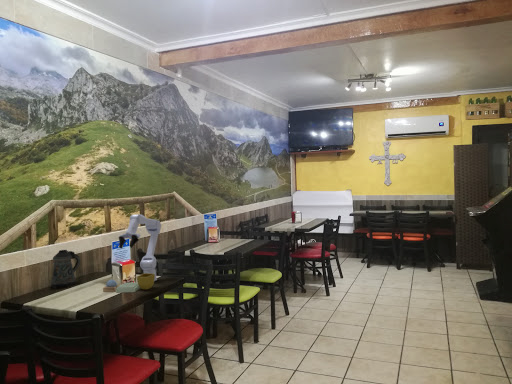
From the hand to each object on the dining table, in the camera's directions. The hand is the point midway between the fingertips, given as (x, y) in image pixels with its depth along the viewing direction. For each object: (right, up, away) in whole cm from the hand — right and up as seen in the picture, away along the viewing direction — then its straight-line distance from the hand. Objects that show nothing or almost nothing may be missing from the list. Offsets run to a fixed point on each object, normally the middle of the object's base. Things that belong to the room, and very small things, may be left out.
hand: (125, 247), depth 248 cm
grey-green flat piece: (-1, -30, +10) cm, 31 cm away
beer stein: (-54, -32, +34) cm, 72 cm away
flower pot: (+10, -29, +11) cm, 33 cm away
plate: (-13, -30, +12) cm, 35 cm away
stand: (-13, -30, +12) cm, 35 cm away
